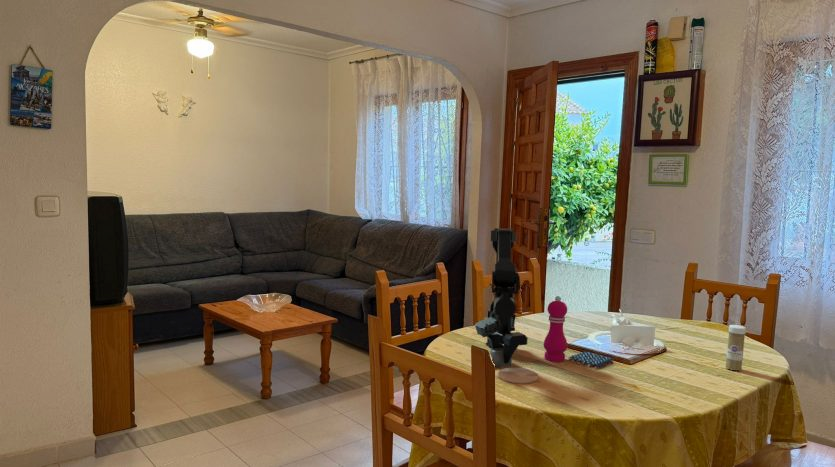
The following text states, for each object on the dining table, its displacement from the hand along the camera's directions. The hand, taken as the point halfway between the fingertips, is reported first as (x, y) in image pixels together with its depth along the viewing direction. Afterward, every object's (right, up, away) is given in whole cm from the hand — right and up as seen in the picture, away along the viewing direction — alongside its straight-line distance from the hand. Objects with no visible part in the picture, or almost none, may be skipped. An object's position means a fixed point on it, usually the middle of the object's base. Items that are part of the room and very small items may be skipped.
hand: (500, 360), depth 179 cm
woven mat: (+28, -2, +5) cm, 29 cm away
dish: (+46, 0, +26) cm, 53 cm away
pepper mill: (+18, -1, +7) cm, 19 cm away
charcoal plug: (0, -1, 0) cm, 1 cm away
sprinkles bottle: (+71, -3, +2) cm, 71 cm away
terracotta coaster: (+3, -2, -10) cm, 11 cm away
